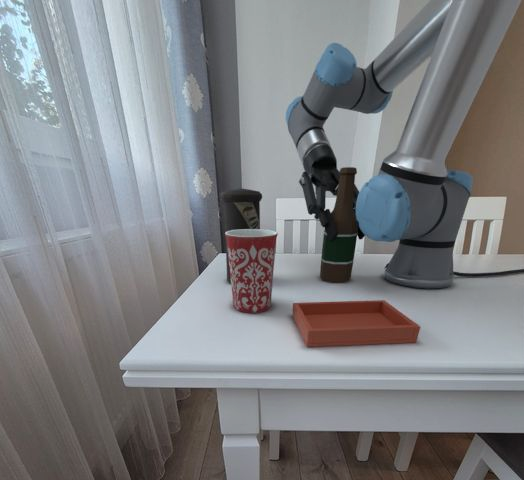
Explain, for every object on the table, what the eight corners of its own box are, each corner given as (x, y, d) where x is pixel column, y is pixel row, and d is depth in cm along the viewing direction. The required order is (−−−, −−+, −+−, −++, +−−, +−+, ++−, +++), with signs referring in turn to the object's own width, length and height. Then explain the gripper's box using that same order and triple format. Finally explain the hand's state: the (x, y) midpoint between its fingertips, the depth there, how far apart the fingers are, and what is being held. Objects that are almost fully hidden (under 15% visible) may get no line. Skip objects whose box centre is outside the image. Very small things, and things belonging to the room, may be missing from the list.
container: (255, 287, 68) (254, 188, 58) (219, 284, 70) (213, 188, 60) (266, 278, 75) (267, 188, 65) (234, 275, 77) (230, 188, 68)
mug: (280, 313, 53) (282, 235, 47) (230, 316, 52) (226, 236, 46) (268, 292, 64) (269, 226, 58) (227, 294, 63) (223, 227, 57)
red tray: (381, 313, 54) (384, 300, 52) (416, 342, 44) (420, 326, 42) (292, 316, 52) (292, 302, 51) (306, 347, 42) (308, 331, 41)
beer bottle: (313, 276, 76) (322, 168, 64) (338, 273, 79) (351, 169, 67) (330, 284, 70) (344, 166, 58) (357, 281, 73) (375, 167, 61)
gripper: (343, 171, 79) (374, 244, 73) (274, 169, 71) (303, 249, 66) (359, 145, 72) (395, 223, 67) (285, 140, 65) (318, 227, 59)
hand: (349, 236), depth 66 cm, fingers closed on beer bottle, 7 cm apart
